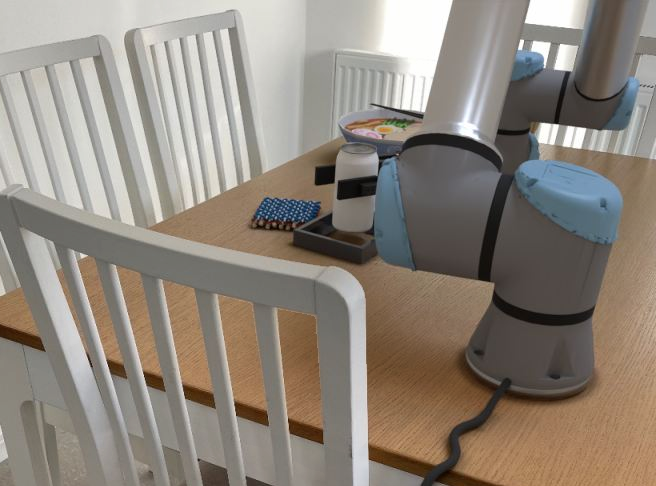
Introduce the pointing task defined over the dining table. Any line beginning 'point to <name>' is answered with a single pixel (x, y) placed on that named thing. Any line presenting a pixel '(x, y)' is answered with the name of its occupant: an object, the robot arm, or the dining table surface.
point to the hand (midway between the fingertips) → (327, 183)
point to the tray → (332, 240)
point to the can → (359, 210)
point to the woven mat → (285, 212)
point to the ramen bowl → (381, 127)
